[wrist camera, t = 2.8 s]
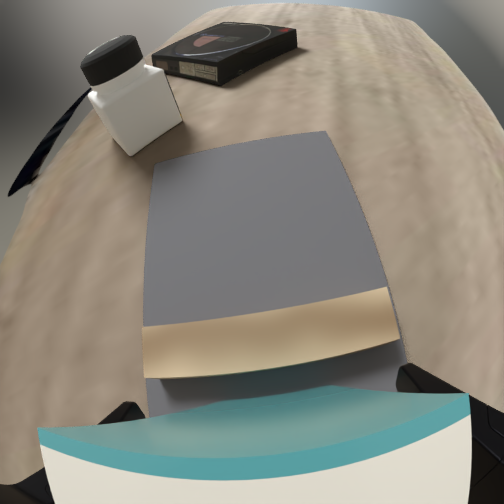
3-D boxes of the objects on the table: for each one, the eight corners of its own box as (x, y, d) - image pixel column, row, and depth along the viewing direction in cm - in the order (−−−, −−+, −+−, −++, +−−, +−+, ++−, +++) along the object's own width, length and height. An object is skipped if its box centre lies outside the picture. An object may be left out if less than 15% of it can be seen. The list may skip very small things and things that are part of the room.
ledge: (387, 343, 14) (400, 338, 12) (159, 379, 15) (144, 377, 13) (376, 297, 15) (386, 286, 14) (156, 333, 16) (141, 327, 15)
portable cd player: (155, 75, 36) (148, 56, 33) (227, 38, 41) (224, 22, 37) (219, 89, 30) (213, 64, 26) (297, 49, 34) (296, 29, 31)
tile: (333, 416, 13) (466, 511, 1) (228, 431, 13) (63, 526, 2) (328, 384, 14) (468, 393, 2) (224, 400, 14) (37, 427, 2)
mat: (415, 447, 11) (418, 449, 11) (164, 482, 12) (160, 484, 12) (325, 134, 23) (325, 130, 22) (156, 167, 24) (154, 163, 23)
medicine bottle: (184, 121, 27) (149, 27, 16) (130, 158, 25) (78, 68, 15) (157, 105, 30) (125, 29, 19) (111, 137, 28) (68, 63, 18)
